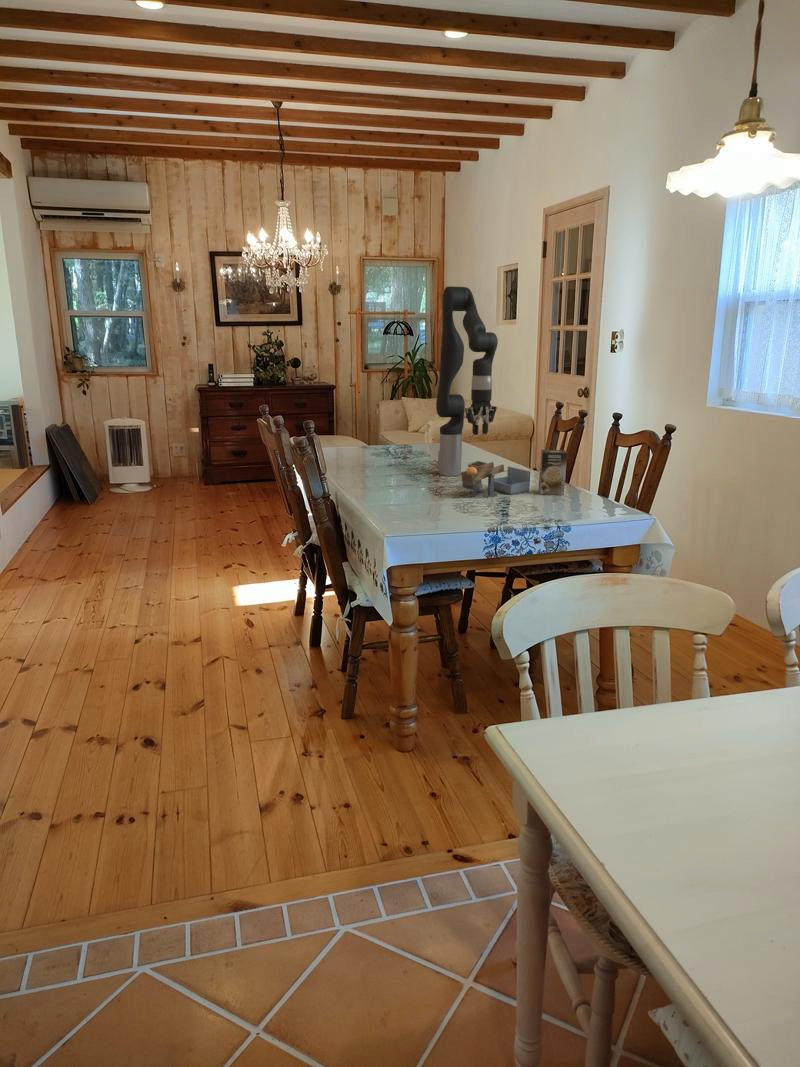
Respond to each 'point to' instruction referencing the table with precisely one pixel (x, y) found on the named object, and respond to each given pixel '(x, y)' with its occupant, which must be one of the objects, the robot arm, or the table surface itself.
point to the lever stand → (490, 487)
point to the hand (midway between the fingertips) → (480, 434)
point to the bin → (513, 481)
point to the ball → (471, 471)
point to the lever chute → (479, 474)
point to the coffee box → (552, 472)
